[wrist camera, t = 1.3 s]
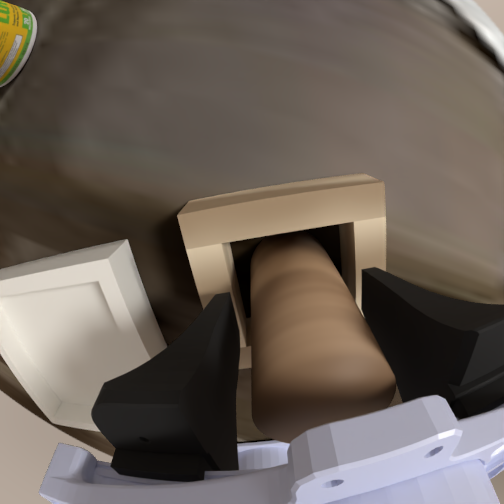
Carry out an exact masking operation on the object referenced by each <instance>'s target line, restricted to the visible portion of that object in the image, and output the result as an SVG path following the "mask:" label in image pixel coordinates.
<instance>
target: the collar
mask: <svg viewBox="0 0 504 504" xmlns="http://www.w3.org/2000/svg"><path fill="white" fill-rule="evenodd" d="M177 217H178V221H179V225H180V229H181V232H182V236H183V240H184V244H185V247H186V251H187V255H188V258H189V262H190V266H191V269H192V273H193V276H194V280H195V283H196V286H197V290H198V293H199V296H200V300H201V303H202V306H203V310H204V308H205V307H206V306H207V304H208V303H209V302H210V301H211V299H212V298H213V297H214V295H215V294H220V293H226V292H230V294H231V298H232V302H233V306H234V310H235V314H236V318H237V322H238V326H239V330H240V360H239V369H245V368H251V317H250V318H246V314H245V310H244V305H243V301H242V297H241V292H240V288H239V283H238V279H237V274H236V270H235V265H234V261H233V256H232V252H231V247H230V242H233V241H239V240H245V239H251V238H256V237H262V236H268V235H274V234H280V233H286V232H293V231H299V230H305V229H311V228H317V227H323V226H330V225H336V224H339V234H340V250H341V268H342V279H343V281H344V283H345V284H346V286H347V288H348V290H349V291H350V293H351V295H352V297H353V298H354V300H355V302H356V304H357V306H358V307H359V309H360V311H361V313H362V310H361V294H362V271H361V269H366V268H371V267H377V268H379V269H382V270H384V271H386V208H385V187H384V182H383V181H380V180H378V179H376V178H373V177H371V176H369V175H366V174H364V173H360V174H352V175H343V176H335V177H328V178H320V179H313V180H306V181H299V182H292V183H286V184H279V185H273V186H267V187H261V188H255V189H249V190H244V191H238V192H233V193H227V194H222V195H217V196H211V197H206V198H201V199H196V200H191V201H188V203H187V204H186V205H185V206H184V207H183V209H182V210H181V211H180V212H179V214H178V215H177ZM362 315H363V313H362ZM363 316H364V315H363Z"/></svg>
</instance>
